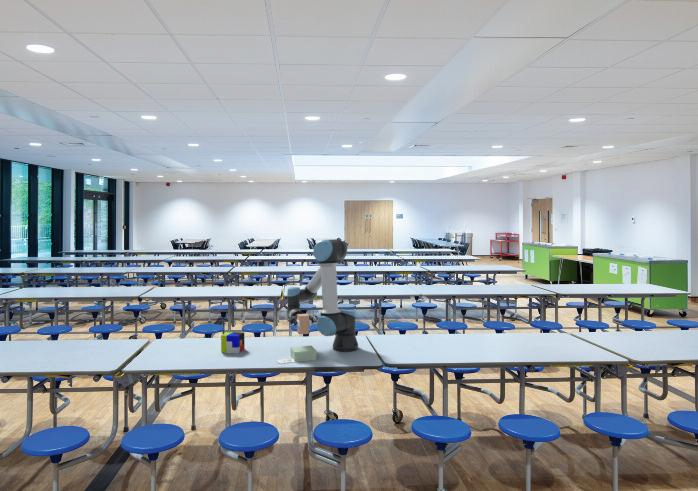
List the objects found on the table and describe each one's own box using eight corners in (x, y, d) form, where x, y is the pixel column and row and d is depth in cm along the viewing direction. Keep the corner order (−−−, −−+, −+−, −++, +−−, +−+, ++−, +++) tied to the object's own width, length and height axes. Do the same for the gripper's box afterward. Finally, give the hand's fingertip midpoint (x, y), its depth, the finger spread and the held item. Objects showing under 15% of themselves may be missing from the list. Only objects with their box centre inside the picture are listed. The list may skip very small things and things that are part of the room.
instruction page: (293, 358, 282) (293, 357, 282) (297, 361, 276) (297, 361, 276) (275, 360, 278) (275, 360, 278) (279, 363, 272) (279, 363, 272)
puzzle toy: (237, 353, 293) (237, 336, 293) (221, 352, 295) (221, 335, 295) (244, 349, 303) (244, 332, 303) (228, 348, 305) (228, 331, 305)
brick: (307, 331, 286) (306, 313, 286) (309, 333, 281) (309, 315, 281) (297, 332, 285) (297, 314, 284) (299, 334, 280) (299, 316, 279)
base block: (311, 354, 291) (311, 345, 291) (316, 359, 280) (316, 350, 279) (290, 355, 288) (290, 347, 287) (294, 361, 276) (294, 352, 276)
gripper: (312, 321, 303) (321, 329, 280) (281, 323, 297) (288, 331, 275) (312, 309, 302) (321, 316, 280) (280, 310, 297) (288, 318, 275)
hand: (305, 323), depth 278 cm, fingers closed on brick, 5 cm apart
